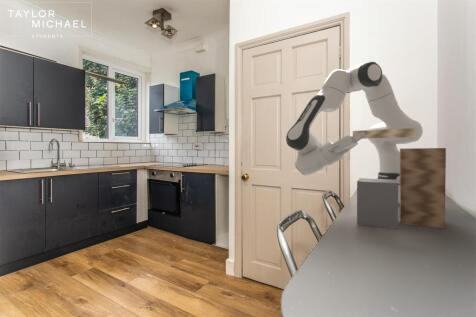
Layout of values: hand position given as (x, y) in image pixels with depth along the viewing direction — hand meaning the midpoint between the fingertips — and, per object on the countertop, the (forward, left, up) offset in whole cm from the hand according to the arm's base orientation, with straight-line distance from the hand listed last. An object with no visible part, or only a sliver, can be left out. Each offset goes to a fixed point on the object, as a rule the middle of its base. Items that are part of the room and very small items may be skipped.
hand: (365, 133), depth 96 cm
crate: (+9, 0, -32) cm, 33 cm away
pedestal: (+9, +15, -32) cm, 37 cm away
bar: (+3, +5, -2) cm, 6 cm away
